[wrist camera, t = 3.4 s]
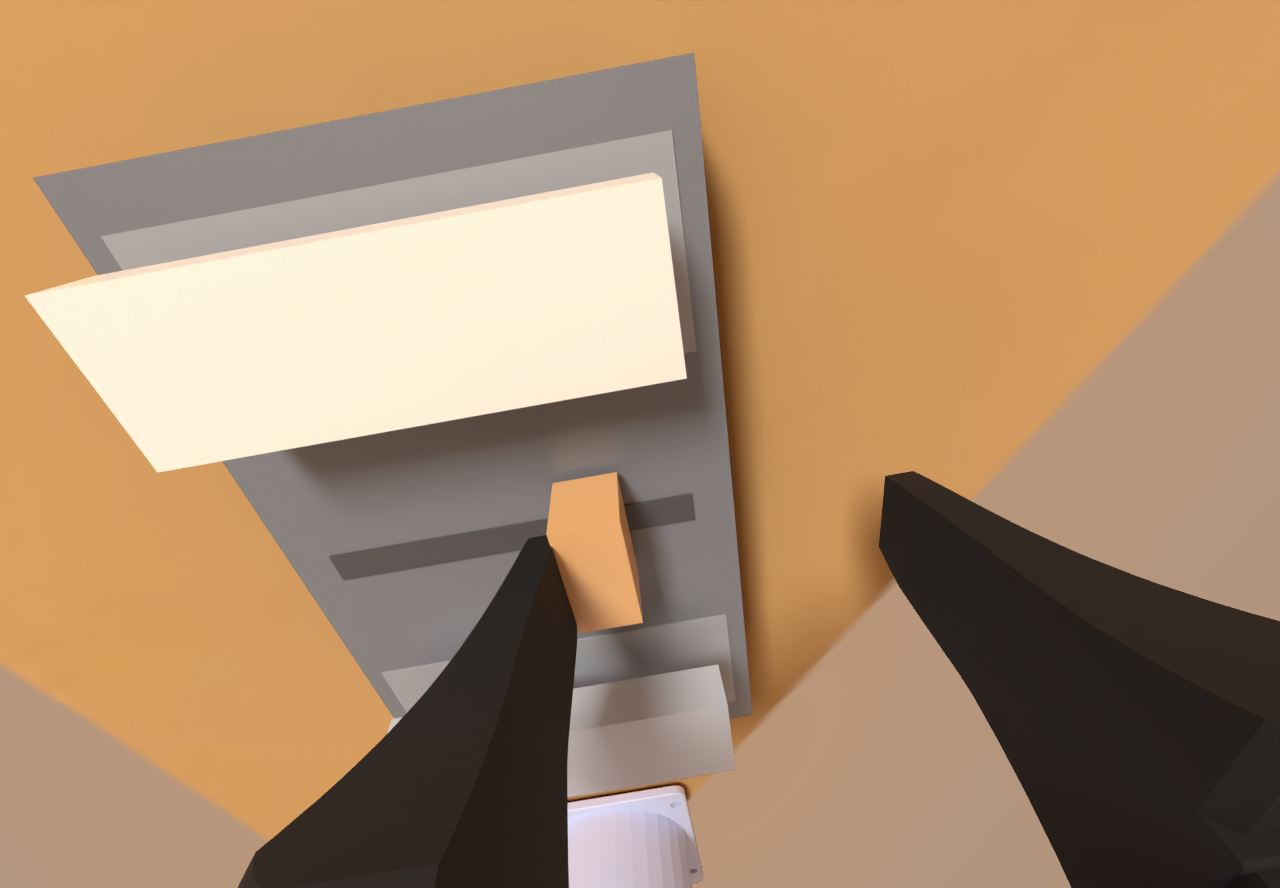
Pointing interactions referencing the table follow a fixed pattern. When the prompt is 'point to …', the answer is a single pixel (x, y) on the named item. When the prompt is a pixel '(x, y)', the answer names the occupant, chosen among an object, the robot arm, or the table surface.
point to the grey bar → (647, 731)
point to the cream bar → (381, 324)
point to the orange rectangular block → (595, 552)
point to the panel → (485, 444)
